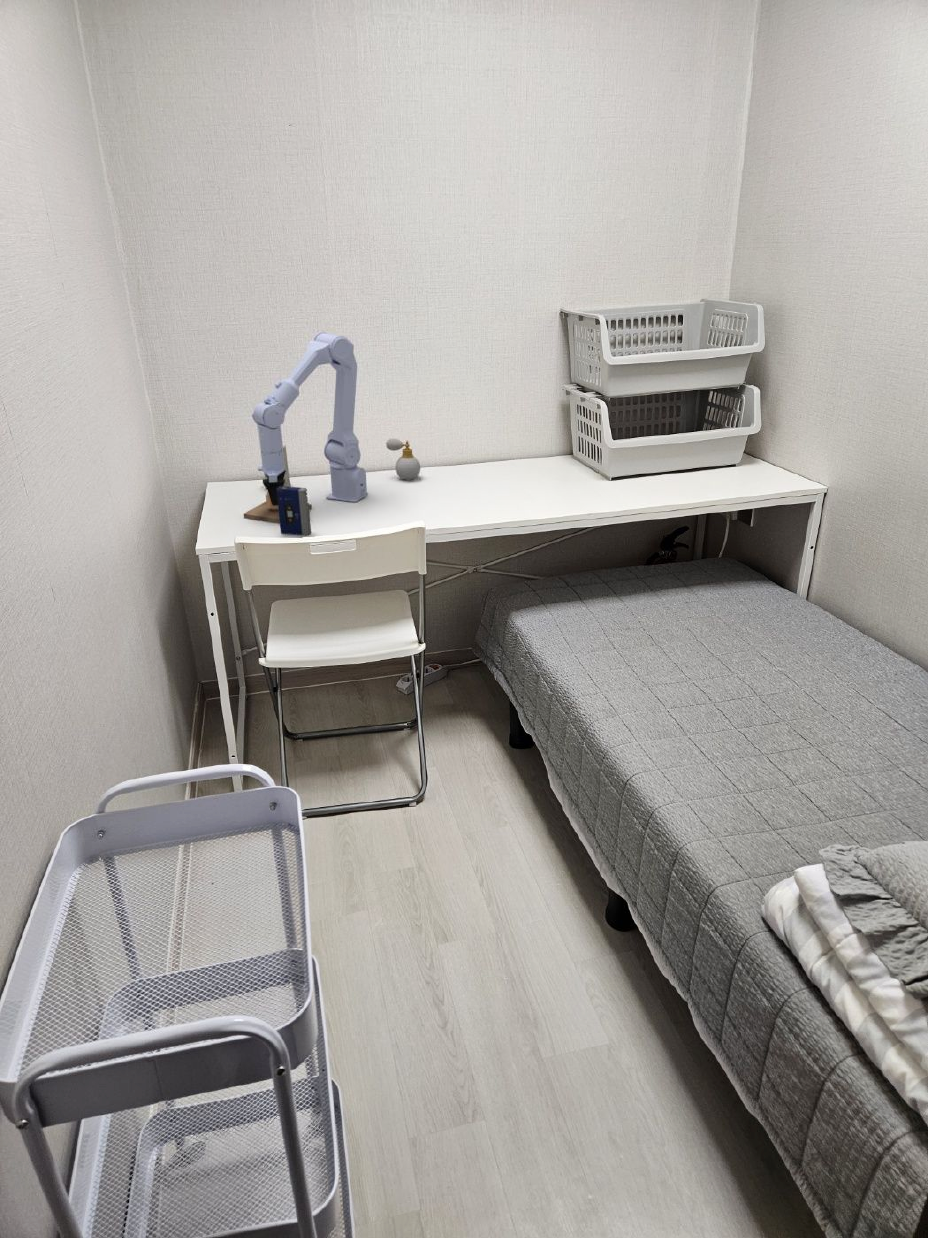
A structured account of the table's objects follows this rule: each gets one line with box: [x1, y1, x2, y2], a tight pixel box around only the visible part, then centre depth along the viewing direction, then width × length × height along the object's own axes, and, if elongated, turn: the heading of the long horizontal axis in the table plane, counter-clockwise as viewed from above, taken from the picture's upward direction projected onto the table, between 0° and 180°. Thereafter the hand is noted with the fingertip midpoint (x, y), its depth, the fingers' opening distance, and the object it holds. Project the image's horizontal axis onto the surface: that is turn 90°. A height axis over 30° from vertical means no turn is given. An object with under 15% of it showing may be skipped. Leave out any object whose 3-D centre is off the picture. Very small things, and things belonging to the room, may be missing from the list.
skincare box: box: [263, 445, 291, 487], centre depth 239 cm, size 6×4×12 cm
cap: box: [265, 491, 278, 509], centre depth 220 cm, size 5×5×4 cm
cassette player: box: [276, 486, 312, 536], centre depth 206 cm, size 7×2×12 cm, turn 78°
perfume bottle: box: [385, 438, 421, 481], centre depth 247 cm, size 8×10×12 cm
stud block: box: [243, 501, 313, 524], centre depth 221 cm, size 13×13×5 cm
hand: (277, 500), depth 220 cm, fingers open, 7 cm apart
